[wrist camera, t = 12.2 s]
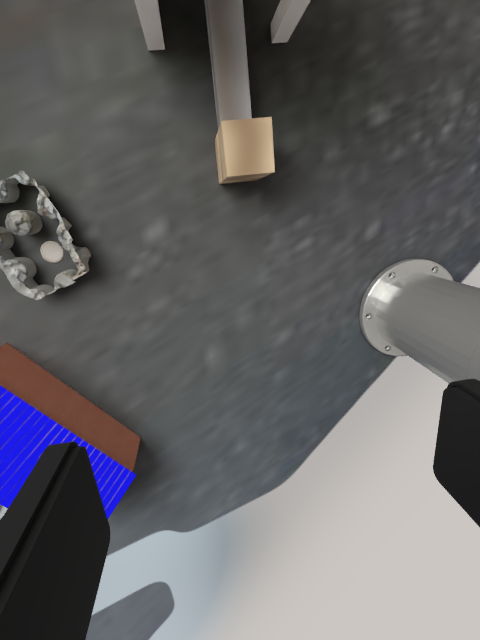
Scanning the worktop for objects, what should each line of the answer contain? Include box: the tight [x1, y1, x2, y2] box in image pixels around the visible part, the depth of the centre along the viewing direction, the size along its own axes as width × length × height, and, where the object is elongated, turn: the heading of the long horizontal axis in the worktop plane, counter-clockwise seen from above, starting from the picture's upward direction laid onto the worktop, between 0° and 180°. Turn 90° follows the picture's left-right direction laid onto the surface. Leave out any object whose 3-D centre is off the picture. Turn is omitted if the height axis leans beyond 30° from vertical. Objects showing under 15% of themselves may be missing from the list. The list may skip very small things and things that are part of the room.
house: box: [0, 343, 141, 519], centre depth 35 cm, size 12×20×12 cm, turn 43°
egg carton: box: [0, 171, 91, 300], centre depth 32 cm, size 11×8×4 cm
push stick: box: [204, 0, 275, 184], centre depth 28 cm, size 4×18×8 cm, turn 6°
